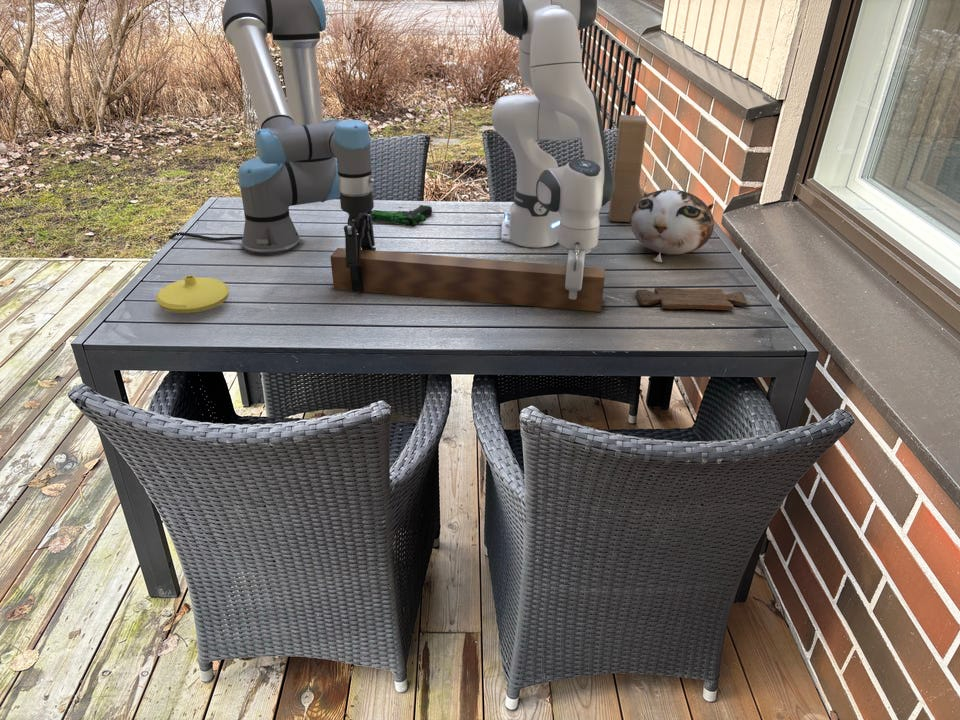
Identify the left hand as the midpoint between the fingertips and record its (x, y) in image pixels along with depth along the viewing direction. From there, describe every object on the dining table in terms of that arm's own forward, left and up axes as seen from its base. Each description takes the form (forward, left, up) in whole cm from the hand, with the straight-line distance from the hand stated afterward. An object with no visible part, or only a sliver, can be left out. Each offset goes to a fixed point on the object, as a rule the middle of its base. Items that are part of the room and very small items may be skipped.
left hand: (363, 283), depth 174 cm
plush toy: (+53, +64, -1) cm, 83 cm away
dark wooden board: (+69, +38, -1) cm, 79 cm away
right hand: (+46, +21, +2) cm, 51 cm away
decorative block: (+35, +84, -1) cm, 91 cm away
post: (+23, +10, -1) cm, 25 cm away
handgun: (-23, +44, -1) cm, 50 cm away
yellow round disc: (-25, -30, -1) cm, 39 cm away
